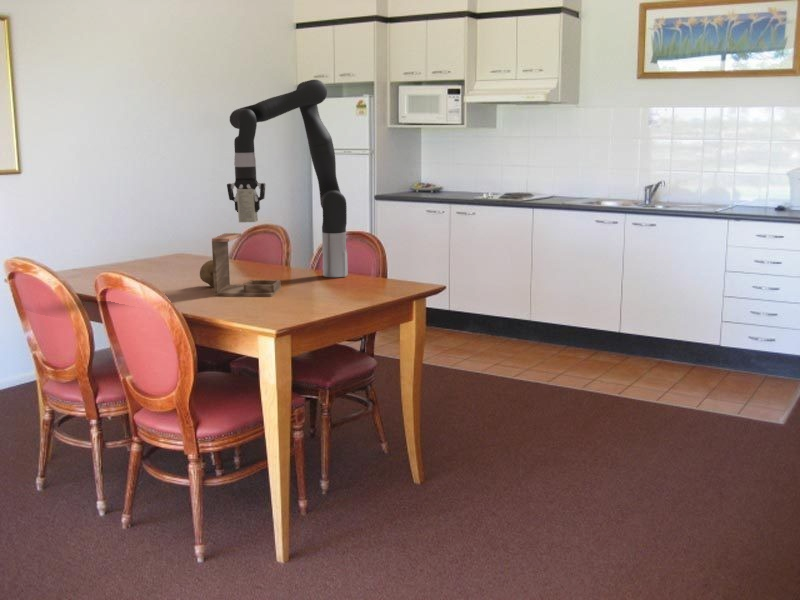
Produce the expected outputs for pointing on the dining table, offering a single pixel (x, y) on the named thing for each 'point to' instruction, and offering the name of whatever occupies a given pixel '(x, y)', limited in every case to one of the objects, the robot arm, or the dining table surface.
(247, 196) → the skincare box
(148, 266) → the dining table surface
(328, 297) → the dining table surface
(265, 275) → the dining table surface
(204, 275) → the natural sponge
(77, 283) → the dining table surface
